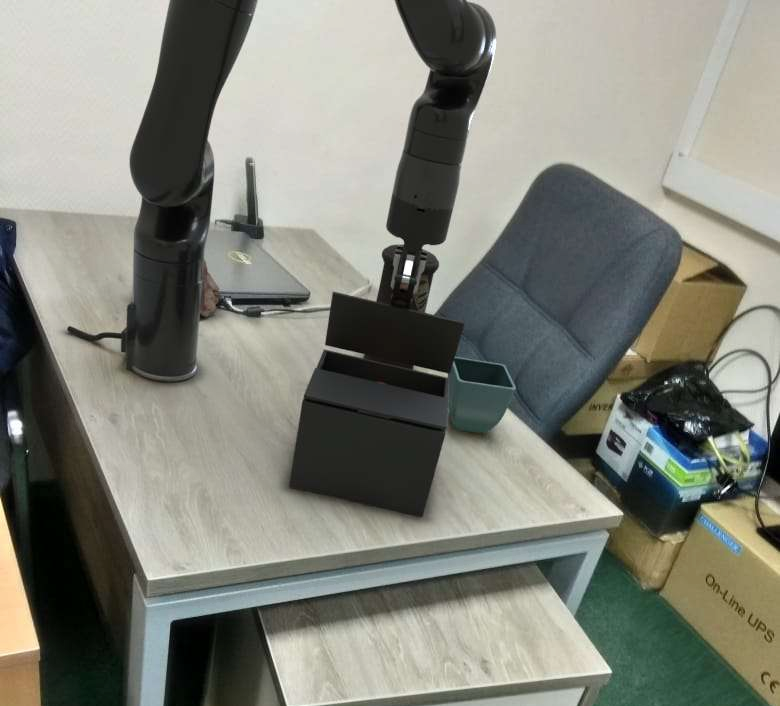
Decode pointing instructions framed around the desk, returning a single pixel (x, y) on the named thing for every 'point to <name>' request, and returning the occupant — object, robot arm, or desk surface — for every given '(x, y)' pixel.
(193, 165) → the robot arm
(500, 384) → the flower pot
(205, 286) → the mineral specimen
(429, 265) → the container
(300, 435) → the carton
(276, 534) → the desk surface
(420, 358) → the flap
